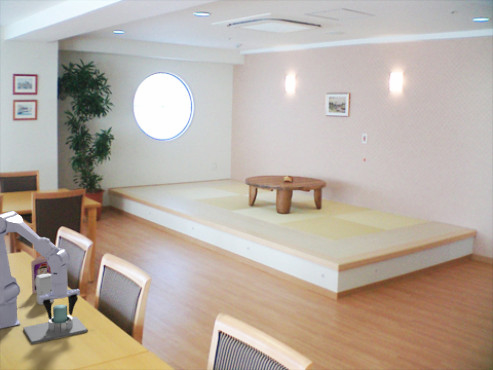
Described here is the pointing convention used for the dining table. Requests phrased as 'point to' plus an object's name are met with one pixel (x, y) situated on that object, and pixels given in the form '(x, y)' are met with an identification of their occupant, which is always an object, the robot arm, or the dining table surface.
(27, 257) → the dining table surface
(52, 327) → the grey segmented ring
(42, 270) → the greeting card
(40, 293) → the skincare box
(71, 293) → the robot arm
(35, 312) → the dining table surface
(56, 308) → the plug
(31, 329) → the board
